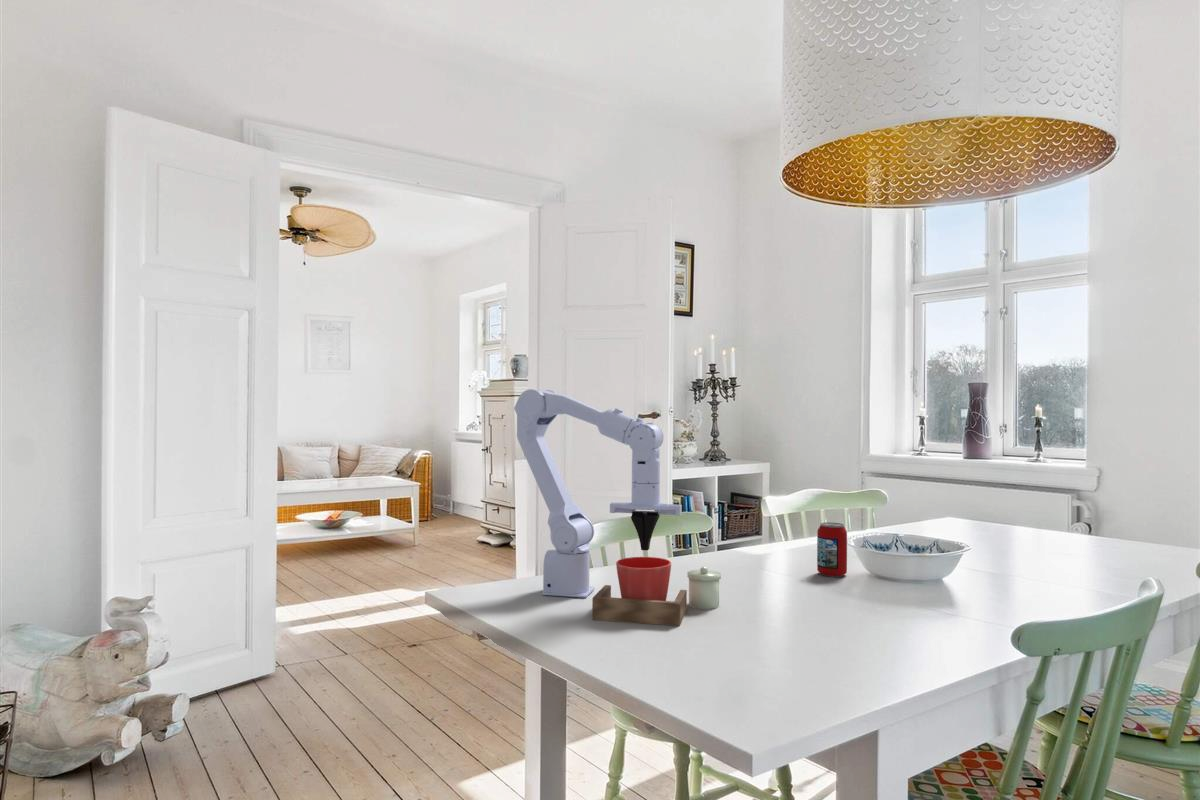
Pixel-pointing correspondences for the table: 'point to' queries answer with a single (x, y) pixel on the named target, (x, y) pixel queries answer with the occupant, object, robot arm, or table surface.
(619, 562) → the flower pot
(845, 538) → the beverage can
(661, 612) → the wooden tray
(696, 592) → the green jar
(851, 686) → the table surface
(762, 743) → the table surface
